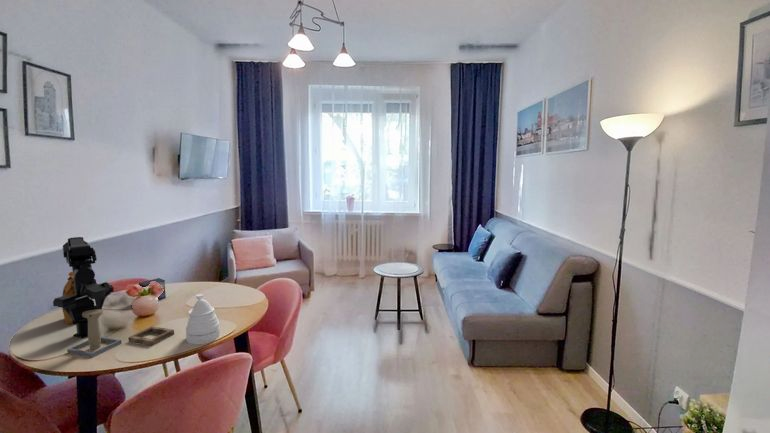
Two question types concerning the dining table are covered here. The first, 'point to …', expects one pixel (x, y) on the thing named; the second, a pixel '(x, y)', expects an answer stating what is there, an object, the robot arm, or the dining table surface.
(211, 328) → the honey pot
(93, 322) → the handle
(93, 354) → the frame
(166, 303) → the dining table surface
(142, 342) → the socket stand
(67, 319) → the coffee package
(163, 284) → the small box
